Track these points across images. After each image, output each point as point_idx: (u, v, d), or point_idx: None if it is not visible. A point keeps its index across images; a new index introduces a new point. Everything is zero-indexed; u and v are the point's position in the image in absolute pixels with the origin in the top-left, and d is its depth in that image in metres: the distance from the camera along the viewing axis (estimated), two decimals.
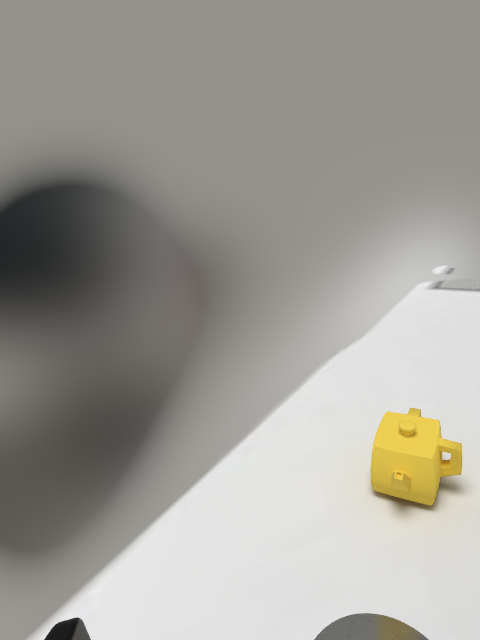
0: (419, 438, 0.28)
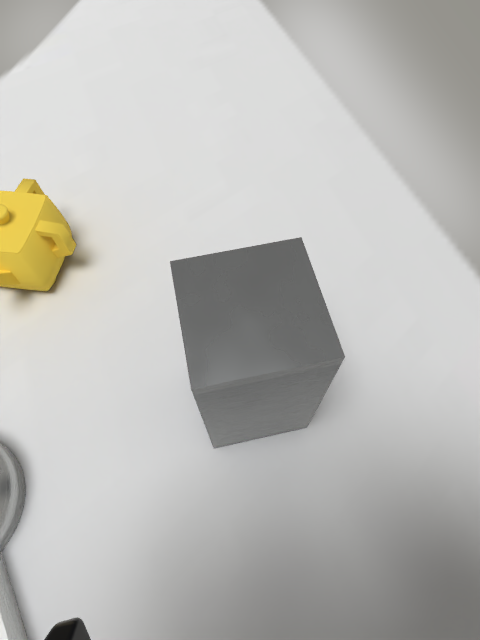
0: (14, 225, 0.24)
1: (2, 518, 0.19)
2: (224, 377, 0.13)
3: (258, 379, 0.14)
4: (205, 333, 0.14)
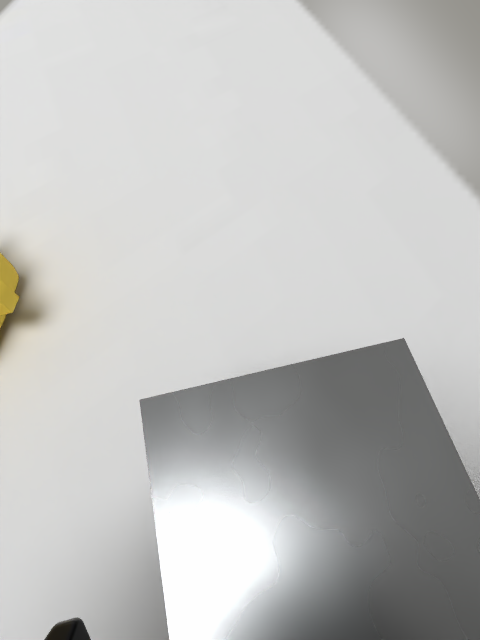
0: None
1: None
2: None
3: None
4: (218, 597, 0.06)
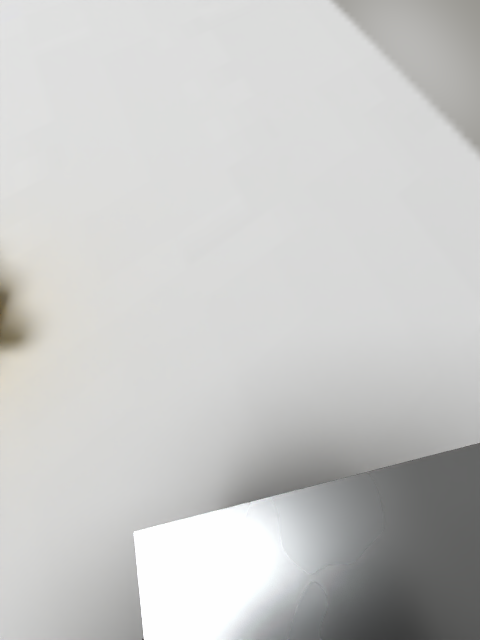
0: None
1: None
2: None
3: None
4: None
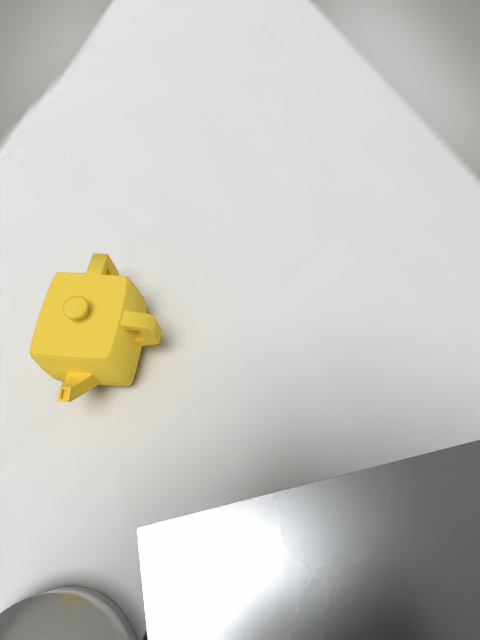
0: (96, 321, 0.20)
1: None
2: None
3: None
4: None
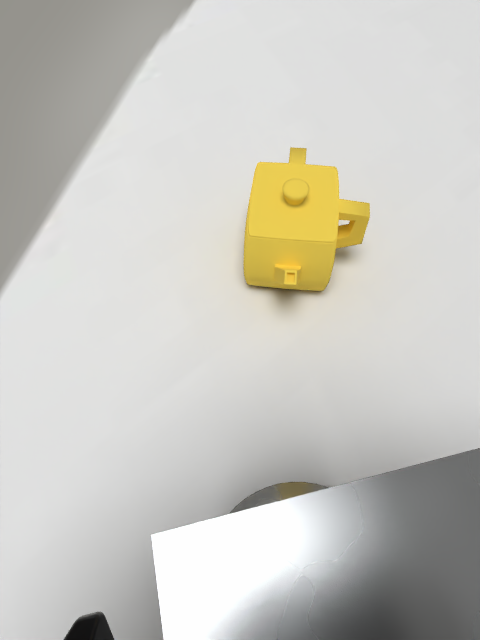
0: (313, 206, 0.18)
1: None
2: None
3: None
4: None
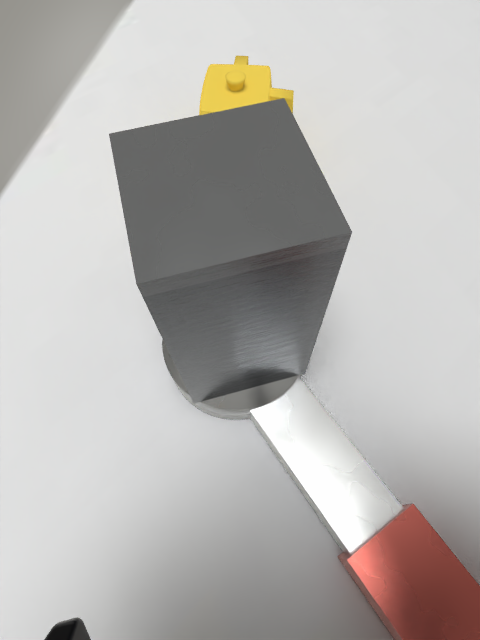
0: (250, 91, 0.24)
1: None
2: (183, 266, 0.09)
3: (232, 270, 0.10)
4: (156, 214, 0.10)
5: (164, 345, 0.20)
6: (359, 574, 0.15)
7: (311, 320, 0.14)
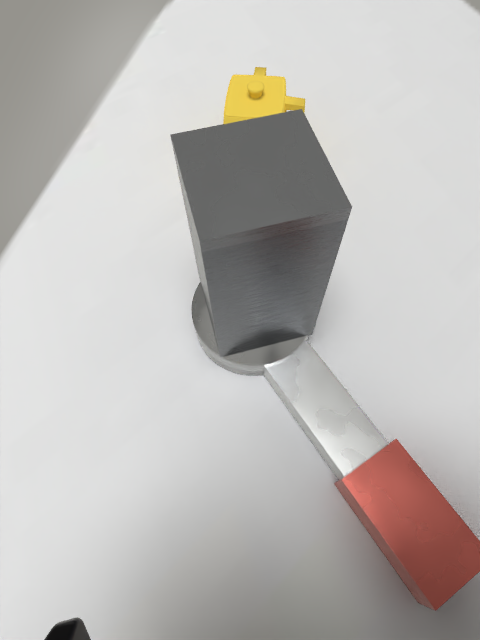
0: (267, 99, 0.28)
1: None
2: (232, 229, 0.13)
3: (266, 233, 0.14)
4: (210, 193, 0.14)
5: (193, 311, 0.23)
6: (351, 490, 0.19)
7: (319, 281, 0.18)
